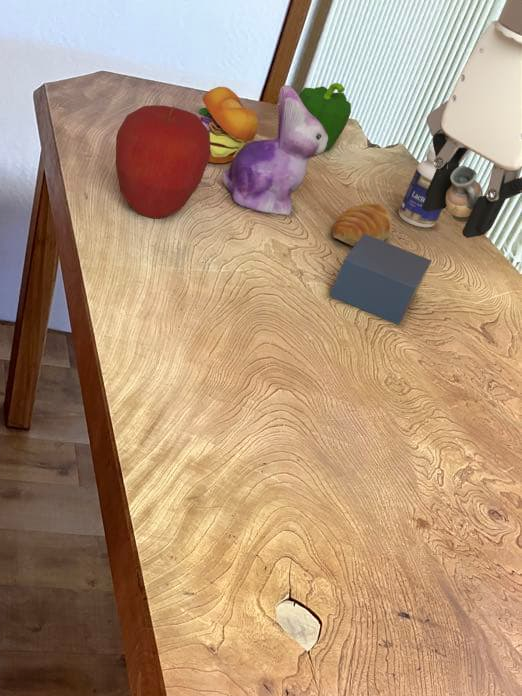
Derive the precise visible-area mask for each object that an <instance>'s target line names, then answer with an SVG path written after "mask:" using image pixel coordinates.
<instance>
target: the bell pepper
mask: <svg viewBox="0 0 522 696" xmlns="http://www.w3.org/2000/svg"><path fill="white" fill-rule="evenodd" d="M335 90H337V92H335ZM344 91H345V87H344V85H343V84H341V83H339V82H334V83H331V84H330V85H329V87H328V88H327V87H326V86H323V85H322V86H317V87H304V88H303V89H302V90H301V92H300V93H299V94H298V96H299V97H300V99H301V101H302V103H303V104H304V106H305V107H306V109H307V110H308V111H309V113H310V114H311V115H313V116H314V117H315V118H316V119H317V120H318V121H319V122H320V123H321V124H322V126H323V128H324V130H325V132H326V133H327V135H328V142H327V146H326V148H325V150H324V152H326V151H329V150H331V148H332V147H334V145H335V144H336V142H337V141H338V140H339V138H340V137H341V134H342V133H343V131H344V129H345V128H346V126H347V124H348V121H349V119H350V116H351V113H352V104H351V102H349V101H348V99H347V97H346V94H345V93H344Z"/></svg>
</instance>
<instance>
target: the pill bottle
mask: <svg viewBox="0 0 522 696" xmlns="http://www.w3.org/2000/svg"><path fill="white" fill-rule="evenodd" d="M425 155H426V156H425V157H426V160H423V161H421V162H420V163H419V164H418V165H417V167H416V169H415V172H414V173H413V176H412V178H411V181H410V183H409V184H408V187H407V189H406V192H405V195H404V196H403V199H402V201H401V203H400V206H399V208H398V216H399V217H400V218H401V219H402V220H403V222H404V221H405V222H406V223H408V224H410V225H412V226H415V227H418V228H423V229H424V228H425V229H426V228H427V229H428V228H432V227H434V226H435V225H436V223H437V222H438V220H439V217H440V215H441V213H442V211H443V209H440V210H434V211H428V212H426V211H424V210H423V209H422V205H423V203H424V201H425V199H426V192H427V190H428V188H429V185H430V183H431V181H432V178H433V176H434V174H435V171H436V168H435V167H434V159H435V158H436V156H435V151H434V147H433V144H432V145H431V146H429V148H428V150H427V152H426V154H425Z"/></svg>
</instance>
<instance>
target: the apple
mask: <svg viewBox="0 0 522 696" xmlns="http://www.w3.org/2000/svg"><path fill="white" fill-rule="evenodd" d="M210 151H211V150H210V132H209V131H208V130H207V128H206V127H205V125H204V124H203V123H202V121H201V120H200V119H199V118H198V116H197V115H195V114H193V113H192V112H190V111H188V110H184V109H182V108H178V107H176V106H175V105H173V106H169V105H159V104H158V105H157V104H156V105H155V104H154V105H153V104H151V105H143V106H142V107H139V108H137V109H136V110H133V111H132V112H130V113H128V114H127V115H126V117H125V118H124V119H123V121H122V123H121V125H120V127H119V128H118V130H117V133H116V137H115V168H116V175H117V181H118V189H119V191H120V193H121V194H122V196H123V197H124V198H125V200H126V201H127V203H128V204H129V205H130V206H131V207H130V208H132V210H134V211H135V212H136V213H137V214H139V215H142V216H144V217H147V218H152V219H165V218H167V217H168V216H171V215H173V214H174V213H176V212H179V211H181V209H183V208H184V207H185V206H186V205H187V203H188V202H189V200H190V198H191V197H192V195H193V194H194V192H195V191H196V189H197V188H198V187H199V185H200V184H201V182H202V179H203V176H204V174H205V170H206V168H207V166H208V163H209V162H208V161H209V158H210Z"/></svg>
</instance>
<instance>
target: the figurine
mask: <svg viewBox="0 0 522 696" xmlns="http://www.w3.org/2000/svg"><path fill="white" fill-rule="evenodd" d="M277 122H278V123H277V138H274V139H273V138H272V139H263V140H252V141H249V142H247V144H246V145H245V146H244V147H242V148H241V149H240V150H239V152H238V153H237V154H236V156H235V157H234V159H233V161H231V164H230V166H229V168H227V169H225V170H224V171H223V172H222V174H221V178H222V182H223V185H224V186H225V188H227V189H228V191H229V192H230V194H231V196H232V200H233V202H234V203H236V205H238V206H239V207H243V208H247V209H250V210H252V211H256V212H260V213H264V214H266V213H267V214H276V215H281V216H288V215H290V214H291V212H292V209H293V208H292V207H293V205H292V193H294V192H296V191H297V189H298V188H299V187H300V186H302V184H303V182H304V180H305V177H306V174H307V169H308V165H309V162H310V161H309V160H310V159H312V158H315V157H317V156H320V155H322V154H323V153H324V152H325V151H324V150H325V148H326V146H327V142H328V135H327V133H326V132H325V130H324V128H323V126H322V124H321V123H320V122H319V121H318V120H317V119H316V118H315V117H314V116H313V115H311V114H310V113H309V111H308V110H307V109H306V107H305V106H304V104H303V103H302V101H301V99H300V97H299V94H298V93H297V92H296V91H295V89H294V88H293V87H291V86H290V85H288V84H285V85H282V86H281V87H280V89H279V92H278V121H277Z"/></svg>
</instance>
